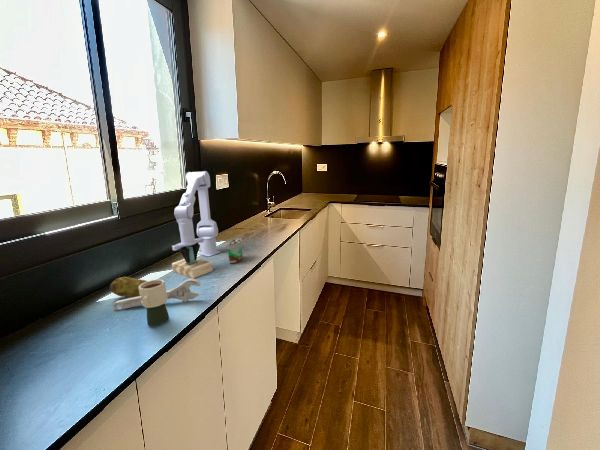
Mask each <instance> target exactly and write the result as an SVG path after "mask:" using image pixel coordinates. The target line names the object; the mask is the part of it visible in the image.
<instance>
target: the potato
mask: <svg viewBox="0 0 600 450" xmlns="http://www.w3.org/2000/svg"><path fill="white" fill-rule="evenodd" d="M147 281H148V280H146V279H145V280H144V279H139V278H133V277H129V276H122V277H120V276H119V277H118V278H114V280H113V281H112V282H111V283H110V285H109V289H110V291H111V292H112V293H113V294H115V295H116V296H118V297H125V298H133V297H138V296H140V294H139V285H141V284H142V283H144V282H147Z"/></svg>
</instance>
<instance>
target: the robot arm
mask: <svg viewBox="0 0 600 450" xmlns="http://www.w3.org/2000/svg"><path fill="white" fill-rule="evenodd" d="M185 177H186V178H185V179H186V182H187V186H186V191H185V192H184V193H183V194H182V196H181V198H180V201H179V204H178V205H177V206H175V208H174V213H173V214H174V217H175V219H176V223H177V224H178V230H179V234H180V241H181V242H178V243H176V244H174V245H171V248H172V249H171V250H172V251H175V252H176V251H179V253H180V254H181V255H182V257H183V259H185V261H186V263H190V259H189V249H187V247H193V251H194V258H195V261H196V260H197V258H198V255H201V256H205V257H212V256H214V255H217V254H220V253H221V251H220V250H218V248H217V240H216V239H217V238H216V237H218V235H219V228H218V224H217V222H216V221H215V220H213V219H212V218H211V209H210V200H209V199H210V198H209V188H210V187H211V177H210V173H209V172H208V171H207V170H203V171H192V172H191V171H188V172H187V173H186V176H185ZM196 192H197V194H198V203H199V212H200V221H199V222H198V223H197V224H196V235H197V237H198V238H195V231H194V224H193V217H194V205H195V202H196V196H195V194H196Z"/></svg>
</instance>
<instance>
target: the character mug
mask: <svg viewBox="0 0 600 450" xmlns="http://www.w3.org/2000/svg"><path fill="white" fill-rule="evenodd" d="M146 281H147V282H144V283H142V284H141V285H139V294H140V296H141V298H142V301H141V303H142V305H141V306H143V307H144V308H146V323H147V324H146V325H148V326H149V327H153V326H159V325H162V324H164V323H167V322H168V321H169V320H170V316H169V315H170V314H169V313H168V312H169V311H168V309H167V307H166V304H165V303H167V301H168V299H167V293H166V291H167V289H166V288H167V287H166V282H165V281H164V279H151V280H146Z"/></svg>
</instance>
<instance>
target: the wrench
mask: <svg viewBox="0 0 600 450" xmlns="http://www.w3.org/2000/svg"><path fill="white" fill-rule="evenodd" d="M192 286H195V287H200V286H201V282H200V280H198V279H196V278H194V279H193V278H188V279H186V280H184V281H183V282H182V283H181V284H179V285H177V286H175V287H174V288H171V289H168V290H167V289H166V293H167V300H171V299H175V300H181V301H182V303H188V301H189V300H190V301H191V300H194V299H196V298H197V297H199V295H200V292H199V291H191V289H190V288H191V287H192ZM141 301H142V298H141V296H138V297H133V298H129V297H127V298H125V299H120V300H116V301H115V302H114V303H113V305H112V308H113V309H114V310H115V311H119V310H120V311H121V310H125V309H129V308H133V307H138V306H143V305H142V303H141ZM117 304H119V305H120V306H119V305H117Z"/></svg>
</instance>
